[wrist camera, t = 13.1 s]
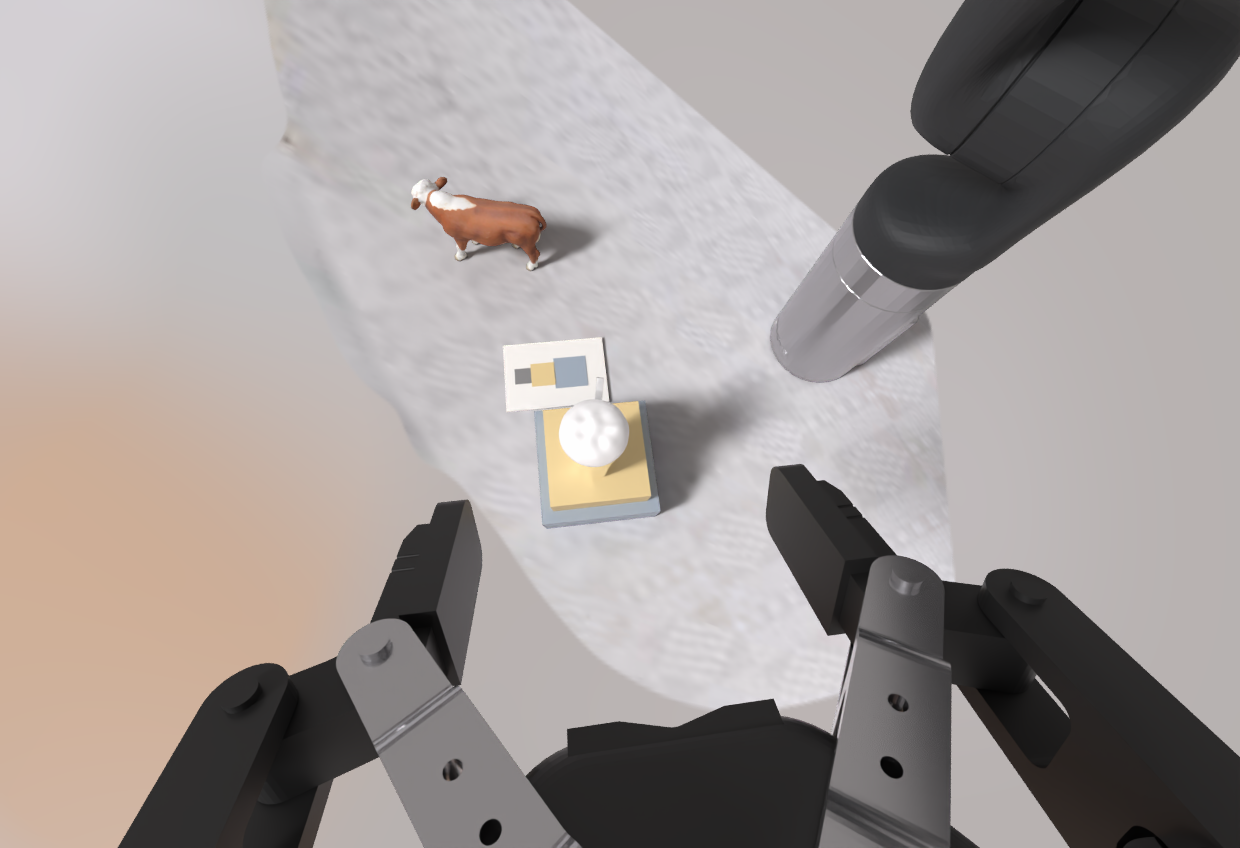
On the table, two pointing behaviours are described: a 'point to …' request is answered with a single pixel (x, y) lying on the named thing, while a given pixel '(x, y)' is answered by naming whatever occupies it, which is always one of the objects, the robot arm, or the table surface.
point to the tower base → (593, 512)
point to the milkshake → (594, 434)
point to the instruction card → (553, 373)
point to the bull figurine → (481, 219)
